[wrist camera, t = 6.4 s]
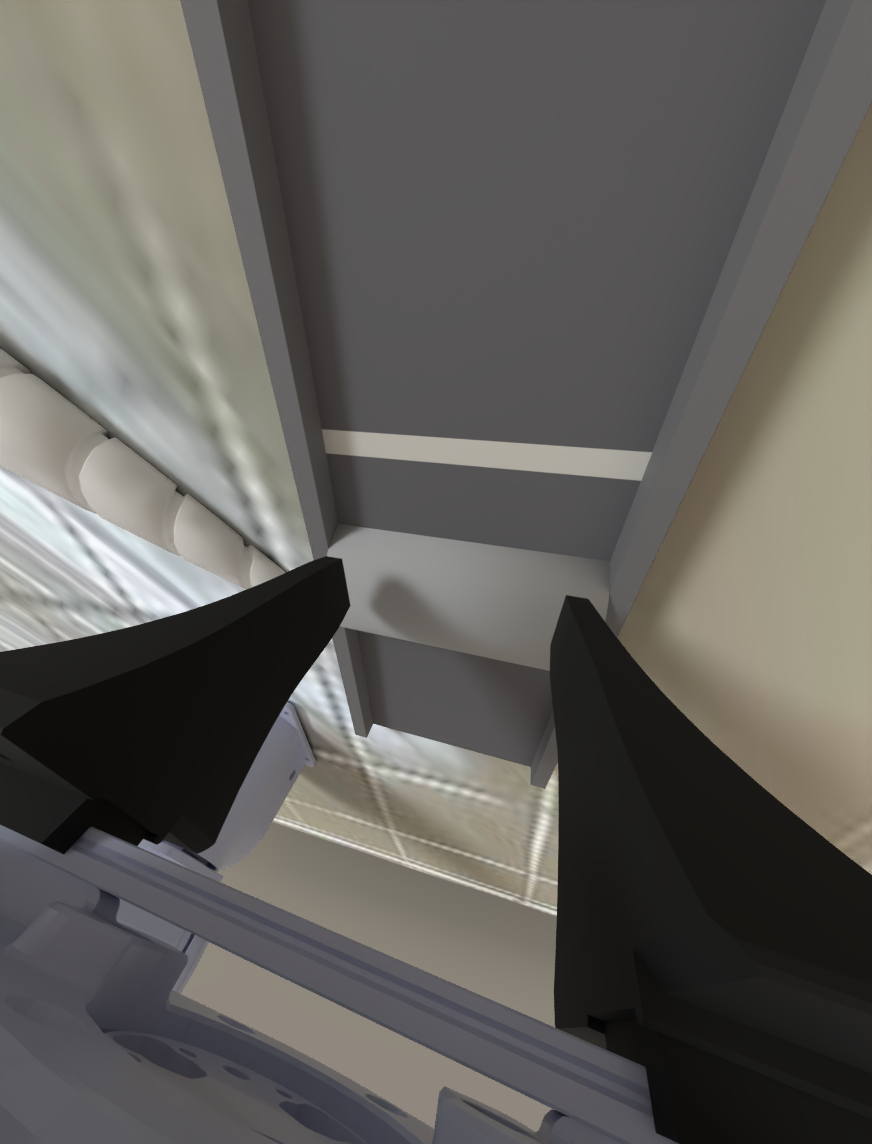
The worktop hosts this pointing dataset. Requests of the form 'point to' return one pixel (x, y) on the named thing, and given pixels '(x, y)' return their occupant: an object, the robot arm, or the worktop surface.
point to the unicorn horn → (113, 479)
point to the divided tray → (511, 298)
